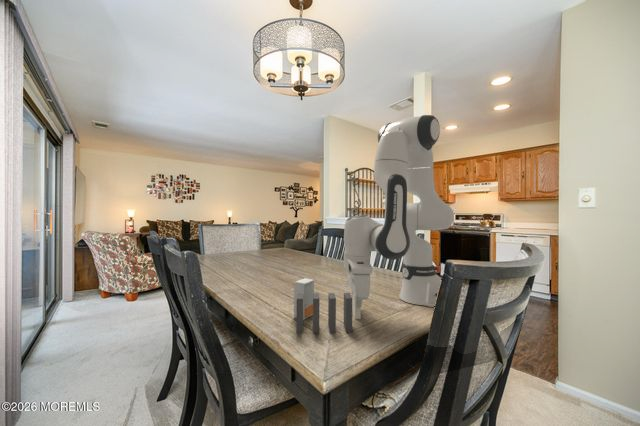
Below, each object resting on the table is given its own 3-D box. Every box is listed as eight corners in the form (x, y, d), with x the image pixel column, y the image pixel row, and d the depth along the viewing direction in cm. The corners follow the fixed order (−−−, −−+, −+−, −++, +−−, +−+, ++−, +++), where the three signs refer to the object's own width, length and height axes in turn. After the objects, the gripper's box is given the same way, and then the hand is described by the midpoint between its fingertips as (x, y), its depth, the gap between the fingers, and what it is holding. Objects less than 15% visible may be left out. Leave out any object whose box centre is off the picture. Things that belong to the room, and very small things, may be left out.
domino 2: (318, 325, 79) (318, 293, 79) (319, 333, 74) (319, 298, 74) (312, 325, 79) (312, 293, 79) (313, 333, 74) (313, 298, 74)
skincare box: (303, 320, 82) (304, 283, 82) (293, 317, 84) (293, 281, 84) (314, 314, 87) (314, 279, 87) (304, 311, 89) (304, 277, 89)
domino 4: (349, 324, 79) (349, 292, 79) (352, 332, 74) (352, 298, 74) (343, 325, 79) (343, 292, 79) (345, 332, 74) (346, 298, 74)
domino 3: (334, 325, 79) (334, 293, 79) (335, 332, 74) (335, 298, 74) (328, 325, 79) (328, 293, 79) (329, 332, 74) (329, 298, 74)
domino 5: (357, 313, 89) (357, 284, 89) (360, 319, 84) (360, 288, 84) (352, 313, 89) (352, 284, 89) (355, 319, 84) (355, 288, 84)
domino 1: (303, 325, 79) (303, 293, 79) (302, 333, 74) (302, 298, 74) (297, 325, 79) (297, 293, 78) (296, 333, 74) (296, 298, 74)
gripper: (343, 257, 96) (343, 294, 96) (352, 269, 76) (352, 316, 76) (359, 257, 97) (359, 293, 97) (373, 269, 76) (373, 315, 76)
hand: (356, 303), depth 86 cm, fingers closed on domino 5, 5 cm apart
